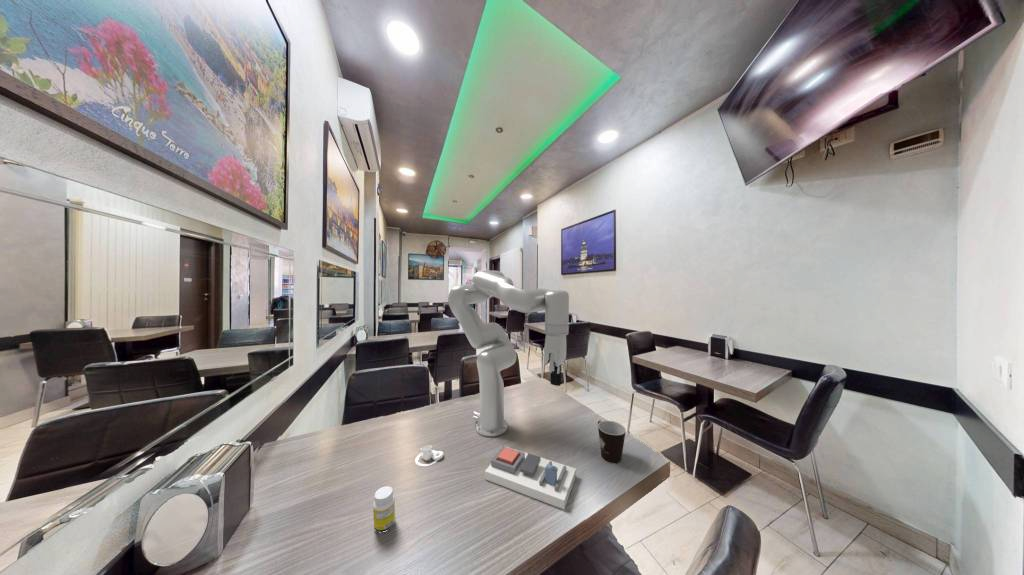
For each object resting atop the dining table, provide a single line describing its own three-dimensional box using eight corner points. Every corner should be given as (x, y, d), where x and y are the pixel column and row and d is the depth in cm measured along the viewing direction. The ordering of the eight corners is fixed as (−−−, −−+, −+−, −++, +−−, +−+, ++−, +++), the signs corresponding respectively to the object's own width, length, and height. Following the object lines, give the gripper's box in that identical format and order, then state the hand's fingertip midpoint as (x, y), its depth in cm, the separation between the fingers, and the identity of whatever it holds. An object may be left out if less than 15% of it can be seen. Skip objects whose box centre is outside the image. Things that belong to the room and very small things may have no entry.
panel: (485, 479, 82) (484, 465, 82) (505, 453, 94) (505, 441, 94) (564, 509, 72) (564, 493, 71) (575, 476, 83) (576, 462, 83)
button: (497, 463, 85) (497, 456, 85) (505, 453, 89) (505, 447, 89) (512, 468, 82) (512, 461, 82) (519, 458, 87) (519, 451, 87)
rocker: (520, 472, 81) (520, 468, 81) (528, 456, 86) (528, 453, 86) (533, 476, 79) (533, 472, 79) (540, 460, 84) (540, 456, 84)
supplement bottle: (378, 517, 70) (377, 485, 69) (398, 515, 70) (397, 483, 69) (370, 535, 65) (369, 501, 64) (391, 533, 65) (390, 499, 65)
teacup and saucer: (447, 456, 93) (446, 444, 93) (430, 471, 86) (430, 459, 86) (426, 449, 97) (426, 437, 97) (409, 463, 90) (409, 451, 90)
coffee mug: (627, 467, 87) (628, 436, 86) (598, 463, 89) (599, 433, 88) (620, 444, 98) (621, 417, 98) (595, 441, 100) (595, 415, 99)
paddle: (545, 481, 78) (545, 465, 77) (546, 478, 79) (546, 462, 79) (556, 486, 76) (556, 469, 76) (558, 482, 77) (558, 466, 77)
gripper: (552, 323, 98) (552, 374, 99) (537, 332, 84) (536, 391, 85) (573, 325, 94) (573, 378, 95) (561, 334, 81) (560, 395, 82)
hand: (556, 384), depth 90 cm, fingers closed
